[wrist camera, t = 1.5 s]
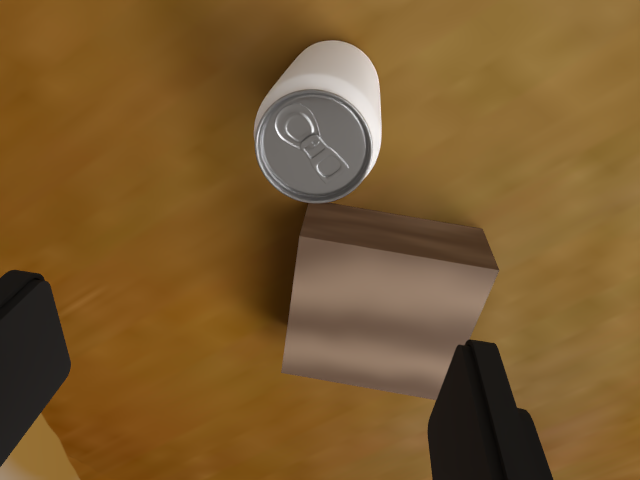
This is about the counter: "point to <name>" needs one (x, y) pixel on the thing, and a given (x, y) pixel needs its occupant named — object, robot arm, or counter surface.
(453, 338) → the walnut block
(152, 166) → the counter surface
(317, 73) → the can
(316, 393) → the counter surface
